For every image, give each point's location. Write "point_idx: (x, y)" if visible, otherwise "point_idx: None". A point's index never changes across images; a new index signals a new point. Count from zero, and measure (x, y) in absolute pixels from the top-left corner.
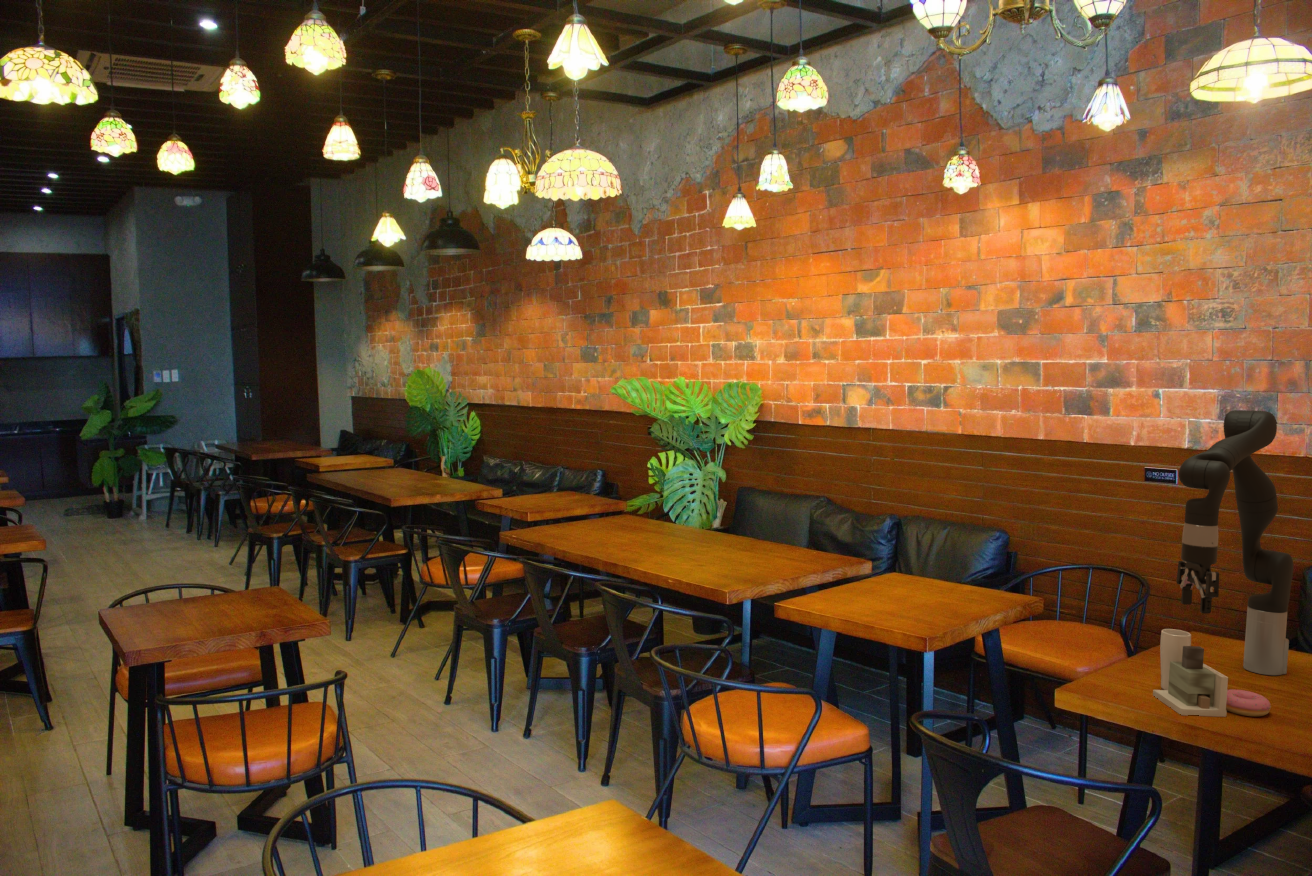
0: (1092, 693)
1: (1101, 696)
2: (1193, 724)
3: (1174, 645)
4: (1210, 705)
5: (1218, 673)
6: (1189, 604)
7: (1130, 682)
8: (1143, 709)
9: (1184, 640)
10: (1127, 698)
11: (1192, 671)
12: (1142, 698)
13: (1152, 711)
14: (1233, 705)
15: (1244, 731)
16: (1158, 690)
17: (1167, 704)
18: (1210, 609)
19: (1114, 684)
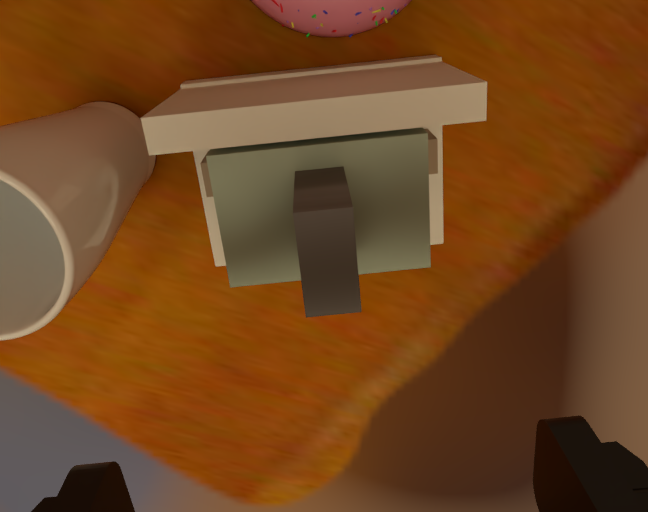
0: (250, 441)
1: (276, 424)
2: (530, 227)
3: (96, 262)
4: None
5: (417, 107)
6: (119, 471)
7: None
8: (389, 338)
9: (77, 221)
10: (277, 353)
11: (398, 240)
12: (264, 303)
13: (406, 316)
14: (405, 5)
15: (602, 57)
16: (220, 249)
17: None
18: (644, 470)
19: (116, 349)
